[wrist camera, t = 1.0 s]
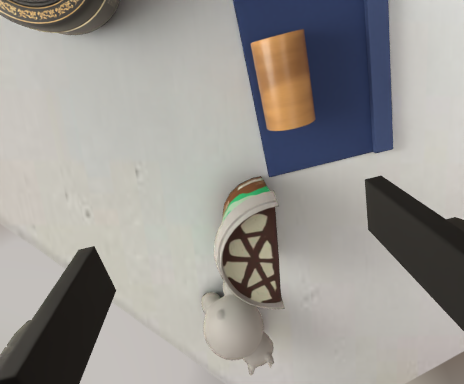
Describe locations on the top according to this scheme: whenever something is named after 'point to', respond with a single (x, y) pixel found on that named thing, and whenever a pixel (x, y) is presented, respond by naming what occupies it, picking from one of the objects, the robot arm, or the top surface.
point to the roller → (284, 80)
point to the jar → (59, 14)
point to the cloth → (327, 78)
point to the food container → (250, 245)
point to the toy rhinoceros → (236, 329)
